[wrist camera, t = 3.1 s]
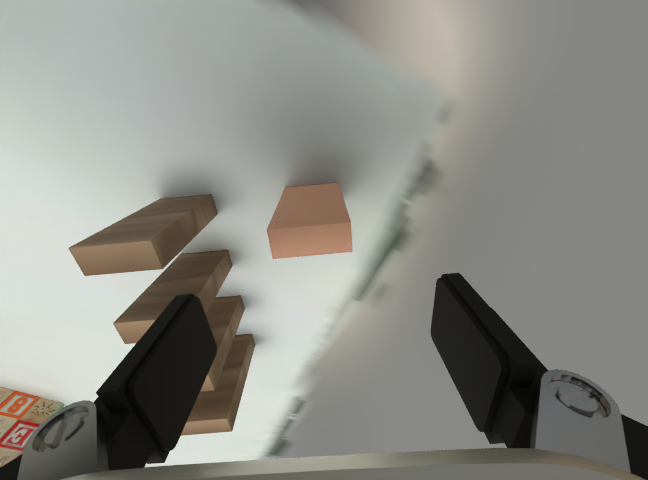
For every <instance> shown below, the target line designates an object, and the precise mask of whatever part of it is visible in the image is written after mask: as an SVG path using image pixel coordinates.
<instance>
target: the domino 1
mask: <svg viewBox="0 0 648 480" xmlns="http://www.w3.org/2000/svg"><path fill="white" fill-rule="evenodd" d="M216 215H217V211H216V207H215V204H214V200H213V197H212V194H210V195H199V196H189V197H178V198H167V199H159V200H157V201H155V202H154V203H152V204H150V205H148V206H146V207H144V208H142V209H140V210H139V211H137V212H135V213H133V214H131V215H129V216H127V217H126V218H124V219H122V220H120V221H118V222H116V223H114V224H112V225H111V226H109V227H107V228H105V229H103V230H101V231H99V232H97V233H96V234H94V235H92V236H90V237H88V238H86V239H84V240H83V241H81V242H79V243H77V244H75V245H73V246H71V247H69V250H70V252H71V253H72V255H73V257H74V258H75V260H76V262H77V264H78V265H79V267H80V269H81V270H82V272H83V274H84V275H85V276H89V275H100V274H112V273H123V272H134V271H145V270H156V269H163V268H164V267H165V266H166V265H167V264H168V263H169V262H170V261H171V260H172V259H173V258H174V257H175V256H176V255H177V254H178V253H179V252H180V251H181V250H182V249H183V248H184V247H185V246H186V245H187V244H188V243H189V242H190V241H191V240H192V239H193V238H194V237H195V236H196V235H197V234H198V233H199V232H200V231H201V230H202V229H203V228H204V227H205V226H206V225H207V224H208V223H209V222H210V221H211V220H212V219H213V218H214V217H215V216H216Z"/></svg>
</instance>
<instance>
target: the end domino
mask: <svg viewBox="0 0 648 480" xmlns="http://www.w3.org/2000/svg"><path fill="white" fill-rule="evenodd" d="M267 233H268V238H269V243H270V248H271V253H272V258H273V259H277V258H288V257H299V256H310V255H321V254H333V253H344V252H352V237H351V221H350V218H349V215H348V212H347V209H346V206H345V203H344V200H343V196H342V193H341V190H340V187H339V184H338V183H328V184H317V185H306V186H295V187H285V189H284V191H283V194H282V196H281V198H280V201H279V203H278V205H277V208H276V210H275V212H274V215H273V217H272V219H271V221H270V224H269V226H268V228H267Z"/></svg>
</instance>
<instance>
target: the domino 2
mask: <svg viewBox="0 0 648 480" xmlns="http://www.w3.org/2000/svg"><path fill="white" fill-rule="evenodd" d="M231 268H232V263H231V260H230V256H229V253H228V250H221V251H210V252H199V253H188V254H180V255H179V256H178V257H177V258H176V259H175V260H174V261H173V263H172V264H171V265H170V266H169V267H168V268H167V269H166V270H165V271H164V272H163V273H162V274H161V275H160V276H159V277H158V278H157V279H156V280H155V281H154V282H153V283H152V284H151V285H150V286H149V287H148V288H147V289H146V290H145V291H144V292H143V293H142V294H141V295H140V296H139V297H138V298H137V299H136V300H135V301H134V302H133V303H132V305H131V306H130V307H129V308H128V309H127V310H126V311H125V312H124V313H123V314H122V315H121V316H120V317H119V318H118V319H117V320H116V321H115V322H114V323H113V324H114V326H115V328H116V329H117V331H118V333H119V334H120V336H121V338H122V339H123V341H124V343H125V344H130V343H137V342H138V341H139V340H140V338H141V337H142V336H143V335H144V334H145V332H146V331H147V330H148V329H149V327H150V326H151V325H152V324H153V323H154V321H155V320H156V319H157V318H158V317H159V315H160V314H161V313H162V312H163V310H164V309H165V308H166V307H167V306H168V304H169V303H170V302H171V301H172V300H173V298H174V297H175V296H176V295H180V294H194V295H195V296H196V297H198V298H199V299H200V301H201V304H202V306H203V309H204V312H205V314H206V313H207V311H208V309H209V307H210V305H211V304H212V302H213V300H214V298H215V296H216V295H217V293H218V291H219V289H220V287H221V286H222V284H223V282H224V280H225V278H226V277H227V275H228V273H229V271H230V269H231Z"/></svg>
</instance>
